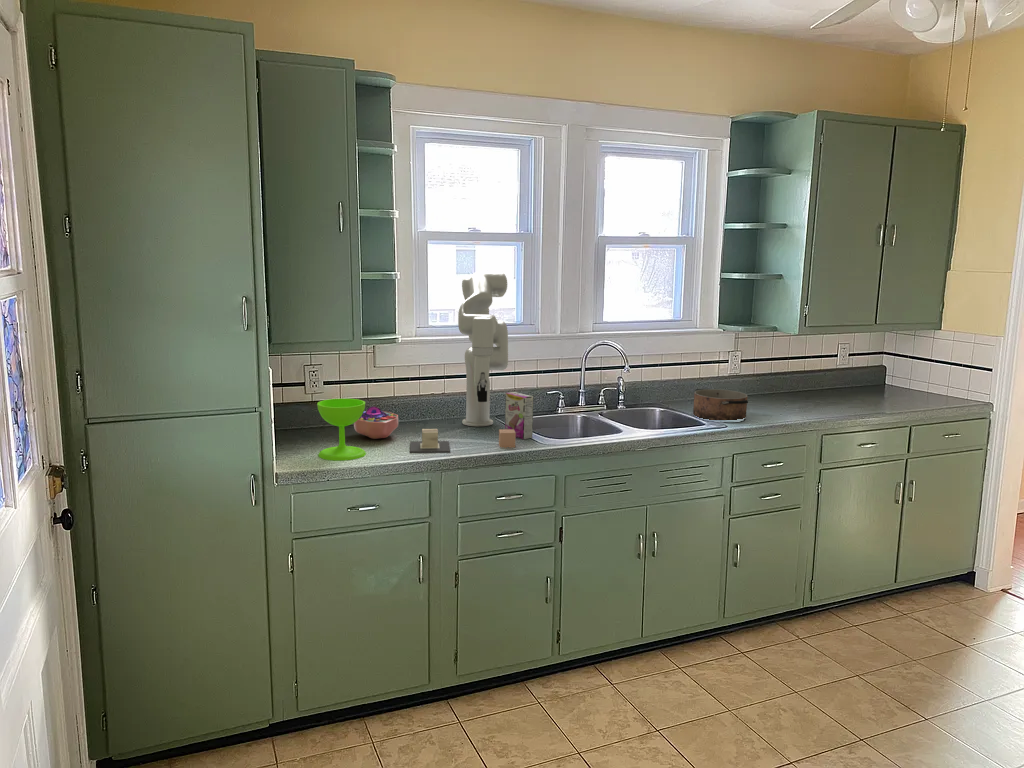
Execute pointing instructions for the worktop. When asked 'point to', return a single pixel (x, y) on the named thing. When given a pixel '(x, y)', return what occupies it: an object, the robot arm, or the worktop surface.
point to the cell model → (376, 423)
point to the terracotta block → (507, 438)
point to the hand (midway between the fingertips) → (481, 398)
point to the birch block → (429, 438)
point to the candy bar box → (519, 414)
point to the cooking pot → (719, 404)
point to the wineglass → (341, 426)
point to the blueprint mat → (417, 448)
